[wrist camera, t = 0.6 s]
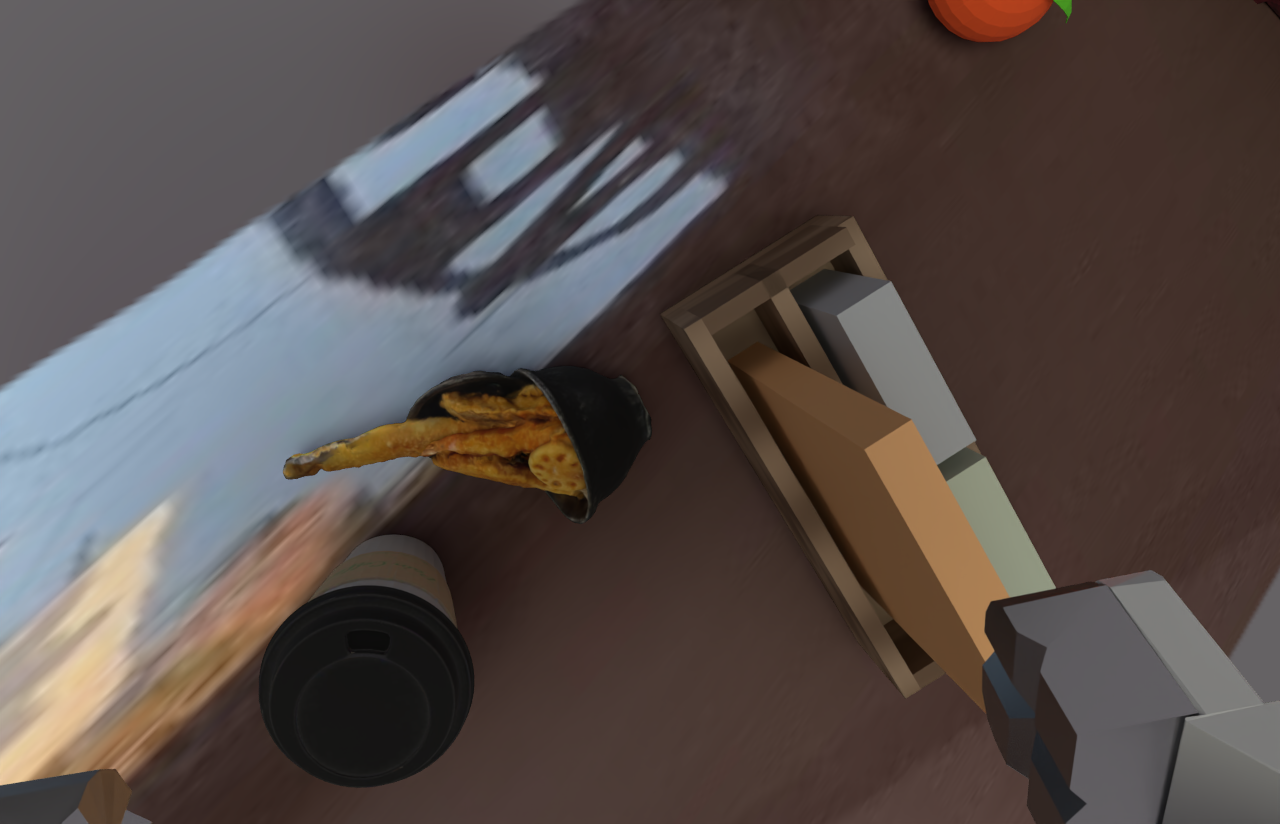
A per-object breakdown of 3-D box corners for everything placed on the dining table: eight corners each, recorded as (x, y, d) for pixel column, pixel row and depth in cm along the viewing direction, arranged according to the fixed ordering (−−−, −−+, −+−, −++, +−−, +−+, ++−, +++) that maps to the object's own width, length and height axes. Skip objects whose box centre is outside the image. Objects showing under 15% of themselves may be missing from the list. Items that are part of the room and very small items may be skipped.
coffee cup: (438, 478, 59) (421, 567, 45) (502, 623, 61) (506, 753, 47) (279, 542, 59) (210, 654, 44) (349, 686, 61) (306, 837, 46)
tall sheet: (889, 567, 62) (1097, 755, 41) (860, 585, 62) (1054, 783, 41) (757, 341, 59) (911, 419, 37) (727, 360, 59) (864, 449, 37)
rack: (1001, 552, 65) (1066, 595, 58) (858, 643, 65) (905, 698, 58) (817, 215, 59) (863, 216, 52) (659, 314, 59) (684, 329, 52)
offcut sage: (974, 540, 63) (1063, 601, 53) (932, 567, 63) (1013, 633, 53) (905, 416, 61) (985, 456, 51) (862, 444, 61) (933, 489, 51)
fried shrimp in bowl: (691, 508, 57) (379, 667, 50) (591, 419, 65) (311, 546, 58) (673, 364, 52) (322, 520, 45) (566, 287, 60) (256, 410, 53)
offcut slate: (898, 402, 61) (976, 440, 51) (854, 430, 61) (924, 473, 51) (824, 268, 58) (891, 281, 49) (778, 297, 58) (836, 315, 49)
